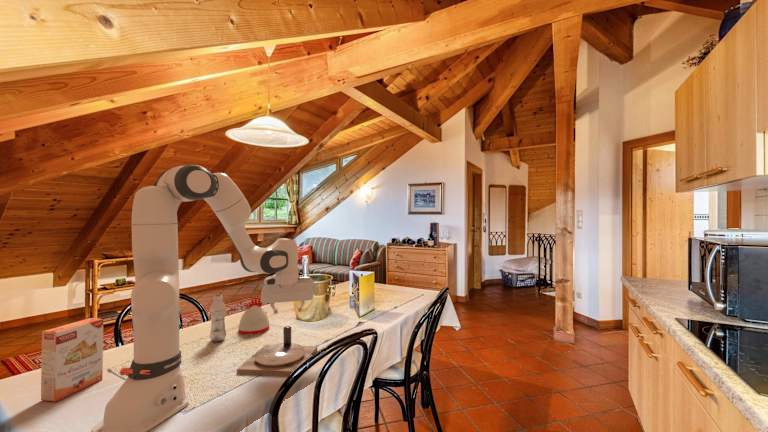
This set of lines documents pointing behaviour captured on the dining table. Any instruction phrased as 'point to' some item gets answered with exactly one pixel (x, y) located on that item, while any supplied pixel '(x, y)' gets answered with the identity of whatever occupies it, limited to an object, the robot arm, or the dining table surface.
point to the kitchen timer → (254, 319)
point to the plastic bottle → (217, 319)
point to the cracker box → (71, 358)
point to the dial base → (286, 370)
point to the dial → (280, 352)
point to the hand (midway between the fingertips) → (288, 312)
